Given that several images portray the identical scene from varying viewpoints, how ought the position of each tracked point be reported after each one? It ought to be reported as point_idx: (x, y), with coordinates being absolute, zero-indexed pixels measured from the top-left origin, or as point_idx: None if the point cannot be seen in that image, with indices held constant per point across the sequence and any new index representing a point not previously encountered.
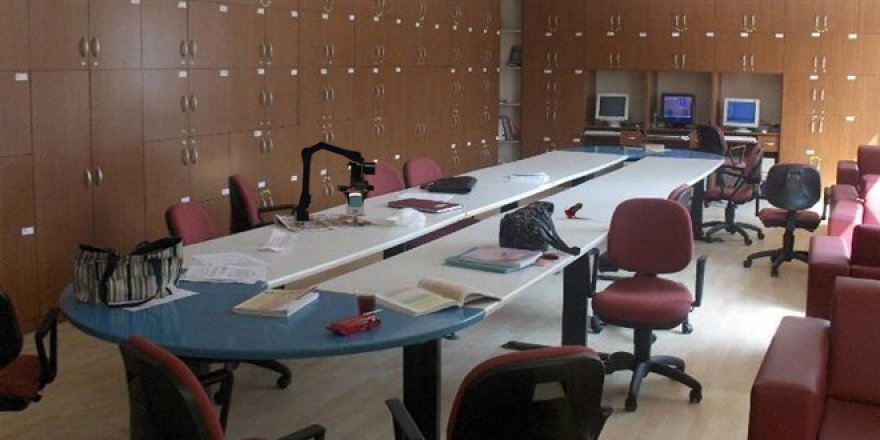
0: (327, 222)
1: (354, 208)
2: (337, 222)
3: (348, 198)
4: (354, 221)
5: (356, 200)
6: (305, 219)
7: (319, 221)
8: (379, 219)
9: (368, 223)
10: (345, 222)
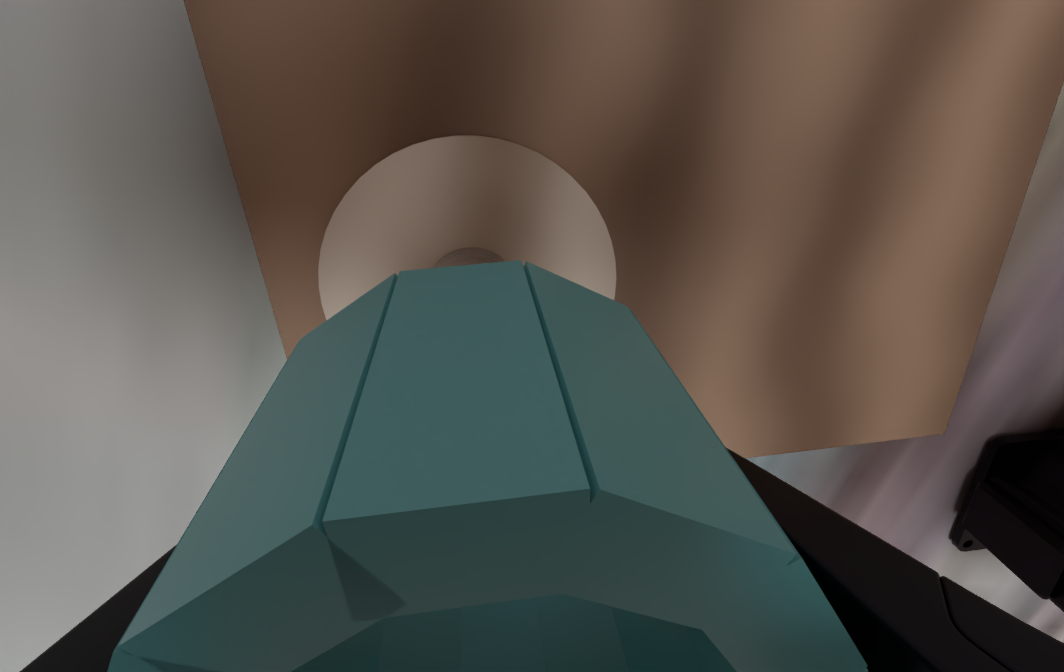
0: (901, 294)
1: None
2: (767, 272)
3: (900, 587)
4: (495, 255)
5: (540, 380)
6: (1062, 474)
7: (953, 381)
8: (52, 592)
9: (247, 63)
10: (648, 251)
